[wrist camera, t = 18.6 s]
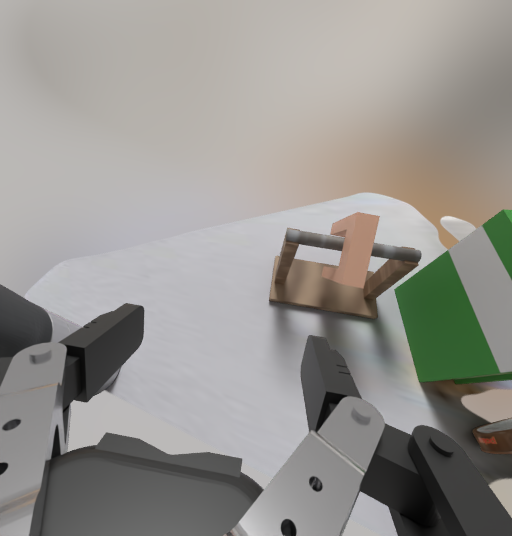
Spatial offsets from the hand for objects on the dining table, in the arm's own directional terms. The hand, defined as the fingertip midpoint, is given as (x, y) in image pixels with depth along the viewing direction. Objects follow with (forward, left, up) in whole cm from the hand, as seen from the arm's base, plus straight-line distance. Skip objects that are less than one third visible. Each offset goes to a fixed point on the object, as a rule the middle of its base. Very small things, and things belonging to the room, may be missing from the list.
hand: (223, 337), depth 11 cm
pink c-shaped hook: (+14, +24, -25) cm, 37 cm away
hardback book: (+34, +15, -33) cm, 50 cm away
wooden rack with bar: (+14, +21, -33) cm, 41 cm away
